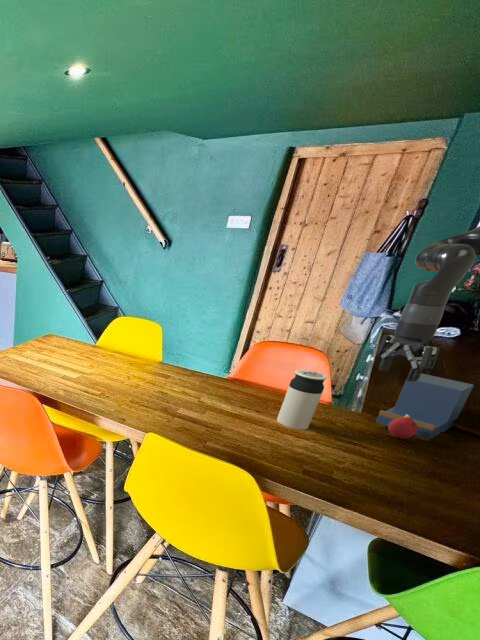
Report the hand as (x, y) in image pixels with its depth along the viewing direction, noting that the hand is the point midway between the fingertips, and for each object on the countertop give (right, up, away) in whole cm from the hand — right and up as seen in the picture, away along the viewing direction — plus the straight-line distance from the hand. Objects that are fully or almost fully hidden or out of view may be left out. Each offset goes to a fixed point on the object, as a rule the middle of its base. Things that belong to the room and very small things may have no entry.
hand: (396, 375), depth 116 cm
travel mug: (-22, -16, +11) cm, 29 cm away
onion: (+4, -19, +4) cm, 20 cm away
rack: (+17, -16, +11) cm, 26 cm away
